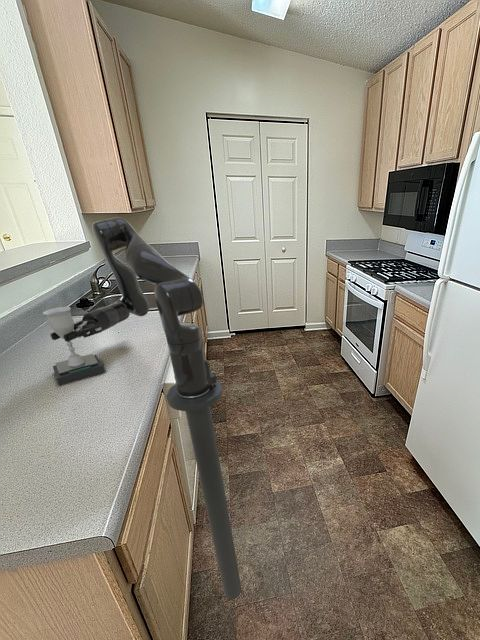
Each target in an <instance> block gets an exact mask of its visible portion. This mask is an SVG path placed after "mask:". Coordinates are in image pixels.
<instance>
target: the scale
mask: <svg viewBox="0 0 480 640" xmlns="http://www.w3.org/2000/svg"><path fill="white" fill-rule="evenodd" d="M93 355H94V357H95V359H96V360H97V362H98V364H96V365H92V366H88V367H84V368H80V369H77V370H73V371H69V372H67V373H63V374H60V375H59V372H58V370H57V367H56V364H55V365H52V369H53V371H54V375H55V378H56V381H57V383H58V386H59V387H60V386H64V385H66V384H71V383H73V382H77V381H80V380H84V379H87V378H91V377H94V376H95V377H96V376H98V375H101V374H105V373H106V369H105V367H104V365H103V363H102V361H101V360H100V358H99V357H98V355H97V354H93Z"/></svg>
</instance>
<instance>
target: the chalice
mask: <svg viewBox="0 0 480 640" xmlns="http://www.w3.org/2000/svg"><path fill="white" fill-rule="evenodd" d="M71 311H72V309H71V307H70V306H59V307H53V308H50V309H46V310H45V311H43V312H42V314H43V315H44V316H45V317H46V319H47V321H48V324H49V327H50V329H51V330H52V331H53V332H55V333H56V334H57V335H59V336H60V337H61V338H60V339H62V340H64V337H63V336H64V335H65V334H67V333H70V332H72V331H74V323H75V322H74V319H73V316H72V314H71V313H72V312H71ZM73 345H74V344H73V342H72V340H71V341H69V342H66V346H68V351H69V352H70V353H71V354H70V356H69V357H68V359H67V360H68V365H69V366H76V365H80V364H82V363H84V362H85V359H83V357H81V356H82V355H80V354H78V353H76V352H75V349H76V348H75V347H74V346H73Z"/></svg>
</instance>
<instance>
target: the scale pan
mask: <svg viewBox="0 0 480 640" xmlns="http://www.w3.org/2000/svg"><path fill="white" fill-rule="evenodd" d="M94 355H95V354H93V353H89V354H85V355H81V357H83V359H85V362H84V363H82V364H80V365H76V366H69V365H68V359H66V360H65V359H64V360H62V361H58V362H55V365H56V367H57V370H58V372H59V375H60V374H63V373H67V372H69V371H73V370H77V369H80V368H84V367H88V366H92V365H96V364H98V362H97V360H96V359H95V357H94Z"/></svg>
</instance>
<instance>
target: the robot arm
mask: <svg viewBox="0 0 480 640" xmlns="http://www.w3.org/2000/svg"><path fill="white" fill-rule="evenodd" d="M91 226H92V227H91V229H92V233H93V235H94V236H93V237H94V238H95V240H96V243H97V245H98V247H99V249H100V252H101V253H102V255H103V257H104V259H105V261H106V263H107V265H108V267H109V268H110V271H111V272H112V274H113V276H114V279H115V282H116V284H117V288H118V291H119V293H120V294H121V296H120V297H119V298H118V299H117V300H116V301H115V302H114V303H110V304H109V305H106V306H102V307H99V308H96V309H94V310H90V311H88V312H87V313H84V314H83V316H82V319H80V320H79V319H78V320H76V321H75V322H74V331H72V332H70V333H67V334H65V335H64V336H63V337H64V339H63V340H64V342H66V343H67V342H69V341H71V342H72V341H74V340H75V339H80V338H85V339H86V338H88V337H92V336H94V335H98V334H100V333H102V332H104V331H107V330H108V329H111V328H112V327H115V326H116V325H117V324H119V323H122V322H124V321H126V320H128V318H129V317H130V314H133V315H135V316H136V317H144V316H146V315H147V314H148V313H149V311H150V303H149V300H148V298H147V297H146V295H145V293H144V292H143V291H142V289H141V287H140V283H139V280H138V278H139V279H140V280H142V281H144V282H146V283H148V284H151V285H155V286H154V290H153V291H154V292H153V293H154V300H155V303H156V307H157V311H158V314H159V317H160V321H161V325H162V329H163V332H164V335H165V339H166V343H167V349H168V353H169V357H170V363H171V366H172V371H173V375H174V380H175V384H176V385H177V390H178V395H179V396H180V397H182V398H185V399H194V398H199V397H202V396H204V395H205V394H207V393H208V392H209V391H210V390H212V389H213V387H212V384H215V383H216V381H218V378H217V376H216V375H215V374H214V373H213V372H211V369H210V363H209V360H207V359H206V355H205V350H204V348H205V347H204V343H203V337H202V330H201V328H200V326H199V325H198V324H196V323H192V322H182V321H180V319H179V317H180V316H185V315H188V314H192V313H195V312H197V311H199V310H200V309H201V308H202V307H203V304H204V296H203V293H202V291H201V288H200V287H199V285H198V284H197V283H196V281H194V280H193V279H192V278H191V277H190V276H188V275H186V274H185V273H184V272H183V271H181V270H179V269H177V268H176V266H174V265H172V264H171V263H170V262H169V261H168V260H167V259H166V258H164V257H163V256H162V255H161V253H160V252H159V251H157V249H156V248H155V247H153V246H152V245H151V244H150V243H148V242H147V241H146V240H145V239H144V238H143V237H142V236H141V235H140V234H139V233H138V232H137V230H136V229H135V228H134V227H133V226H132V224H131V223H130V222H129V221H128V220H127V219H125V218H124V217H122V216H113V217H110V218H106V219H101V220H97V221H94V222H93V223H92V225H91ZM121 249H125V250H124V262H125V263H124V262H123V261H122V260H120V258H118V257H117V256H116V254H115V253H114V251H117V250H121ZM49 336H50V338H51V339H52V341H57V340H59V339H62V338H61V337H60V336H59V335H57V334H56V333H55V332H54V331H53V332H51V333H50V335H49Z"/></svg>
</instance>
